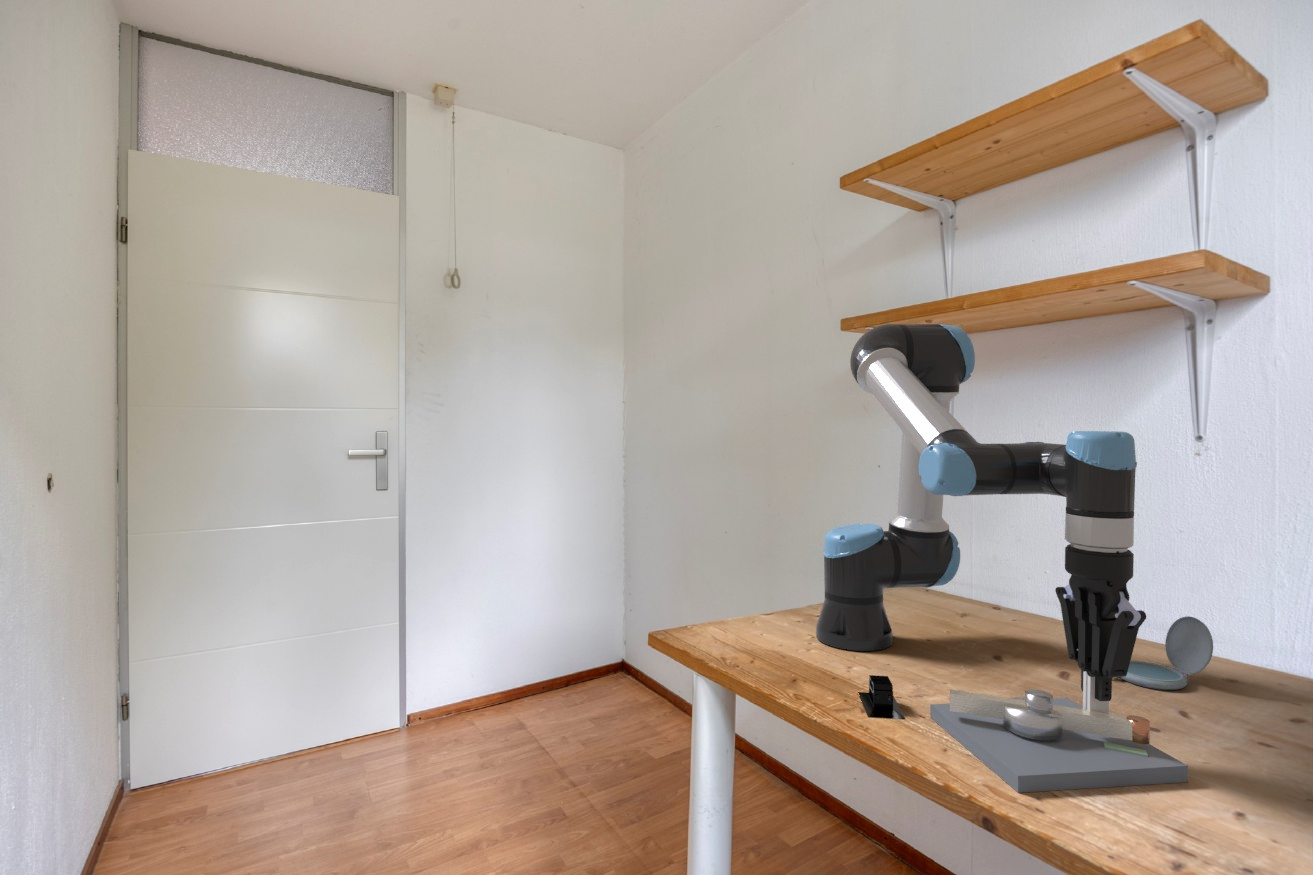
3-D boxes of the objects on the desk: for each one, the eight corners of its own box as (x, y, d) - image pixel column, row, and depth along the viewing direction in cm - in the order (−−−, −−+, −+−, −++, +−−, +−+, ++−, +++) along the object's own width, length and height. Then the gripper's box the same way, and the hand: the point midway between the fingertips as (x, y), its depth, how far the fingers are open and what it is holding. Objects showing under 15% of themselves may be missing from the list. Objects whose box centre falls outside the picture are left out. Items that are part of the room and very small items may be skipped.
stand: (930, 717, 95) (930, 702, 95) (1067, 710, 97) (1067, 696, 97) (1018, 792, 75) (1018, 773, 75) (1187, 781, 77) (1187, 763, 77)
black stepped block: (851, 691, 107) (851, 664, 107) (896, 693, 106) (896, 666, 105) (864, 725, 94) (864, 694, 94) (915, 728, 93) (915, 697, 93)
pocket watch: (1221, 626, 104) (1125, 625, 105) (1221, 693, 104) (1125, 691, 105) (1174, 609, 114) (1087, 608, 115) (1174, 670, 114) (1087, 668, 115)
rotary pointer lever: (950, 704, 94) (950, 672, 94) (1142, 735, 84) (1142, 699, 84) (949, 724, 88) (949, 690, 88) (1157, 760, 78) (1157, 721, 78)
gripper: (1167, 556, 79) (1163, 743, 79) (1088, 537, 91) (1085, 698, 92) (1111, 557, 78) (1107, 746, 79) (1039, 538, 91) (1036, 700, 91)
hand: (1095, 720), depth 85 cm, fingers closed
